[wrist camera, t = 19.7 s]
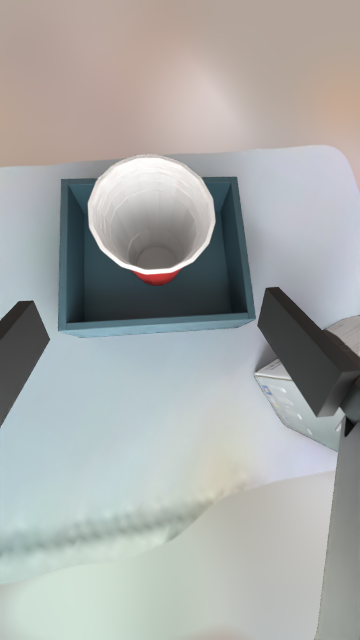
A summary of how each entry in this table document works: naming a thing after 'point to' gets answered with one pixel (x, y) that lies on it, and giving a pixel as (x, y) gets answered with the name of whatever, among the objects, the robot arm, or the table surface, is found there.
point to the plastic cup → (151, 216)
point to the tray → (144, 299)
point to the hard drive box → (291, 402)
